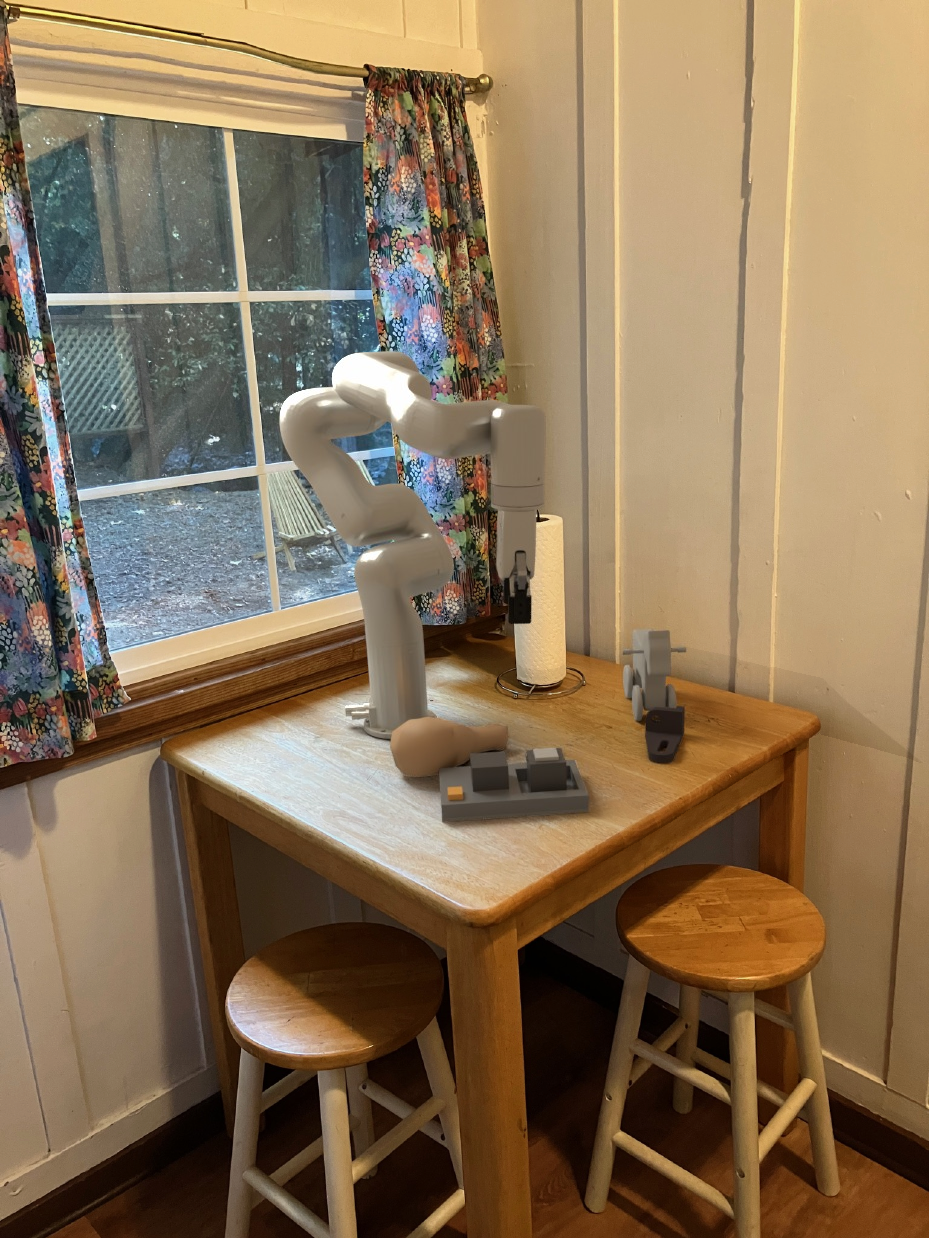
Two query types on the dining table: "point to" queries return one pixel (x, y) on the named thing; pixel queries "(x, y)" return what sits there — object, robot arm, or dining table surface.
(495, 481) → the robot arm
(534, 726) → the dining table surface
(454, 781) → the grey fixture base
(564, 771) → the plug
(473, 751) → the squash
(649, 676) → the pony
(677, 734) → the bracket
